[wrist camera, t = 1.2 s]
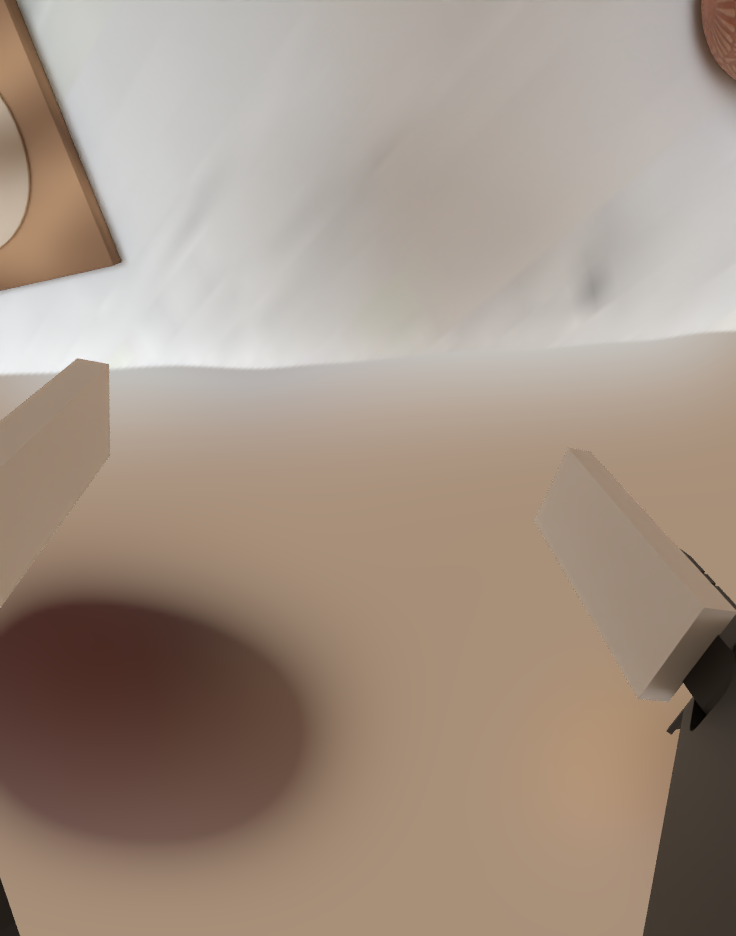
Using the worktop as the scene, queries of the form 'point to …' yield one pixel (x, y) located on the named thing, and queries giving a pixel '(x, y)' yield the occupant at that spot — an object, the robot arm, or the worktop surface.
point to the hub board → (41, 174)
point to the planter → (721, 32)
